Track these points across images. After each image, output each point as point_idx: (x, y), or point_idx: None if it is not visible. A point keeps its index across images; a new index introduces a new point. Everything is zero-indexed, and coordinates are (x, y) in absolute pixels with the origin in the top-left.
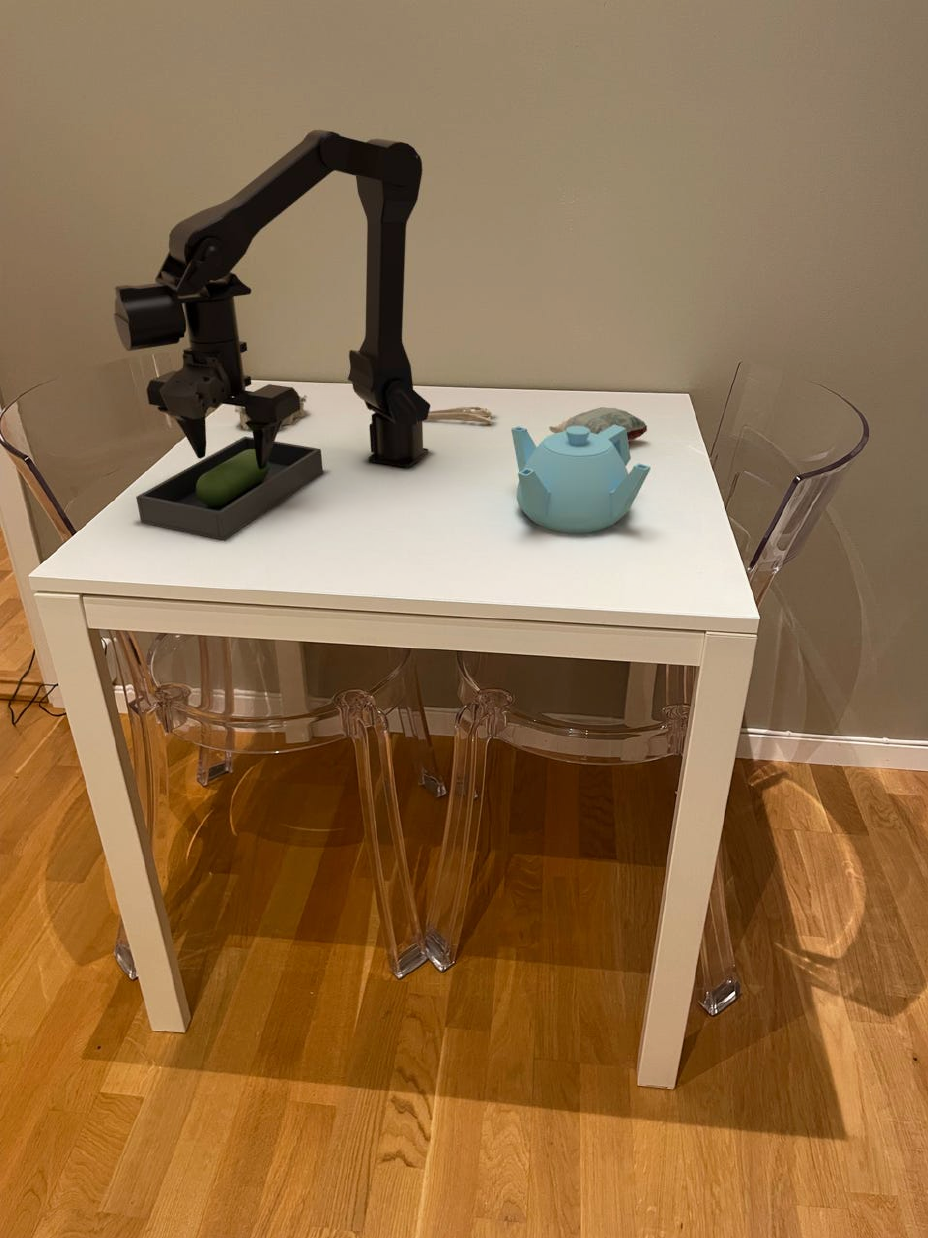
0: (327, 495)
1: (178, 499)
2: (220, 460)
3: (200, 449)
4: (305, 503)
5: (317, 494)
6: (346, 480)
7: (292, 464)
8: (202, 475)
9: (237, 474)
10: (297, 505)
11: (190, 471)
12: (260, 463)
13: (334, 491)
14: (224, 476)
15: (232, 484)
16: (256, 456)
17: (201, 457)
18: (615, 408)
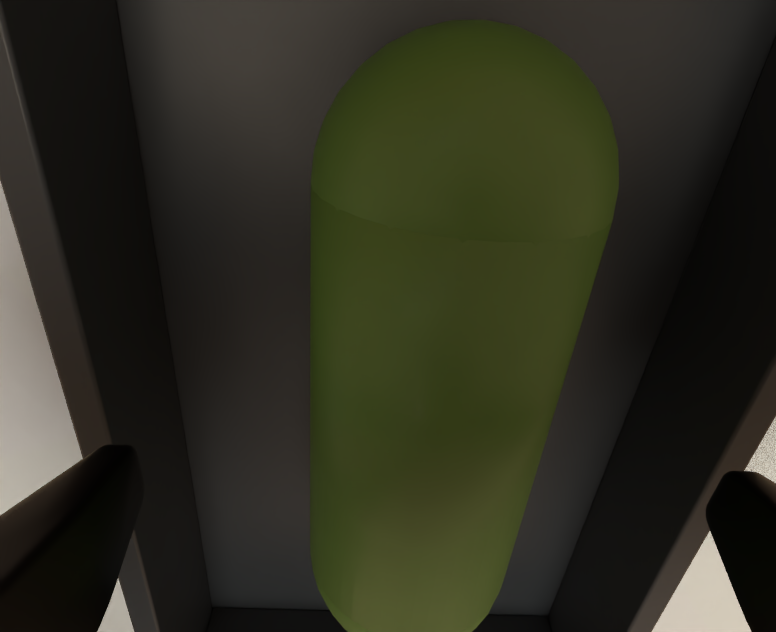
0: (10, 461)
1: (735, 143)
2: (627, 551)
3: (770, 544)
4: (26, 365)
5: (59, 457)
6: None
7: (143, 590)
8: (578, 186)
9: (325, 366)
10: (42, 334)
11: (757, 358)
12: (59, 478)
13: (18, 498)
14: (360, 257)
15: (311, 250)
16: (40, 534)
17: (724, 481)
18: None
